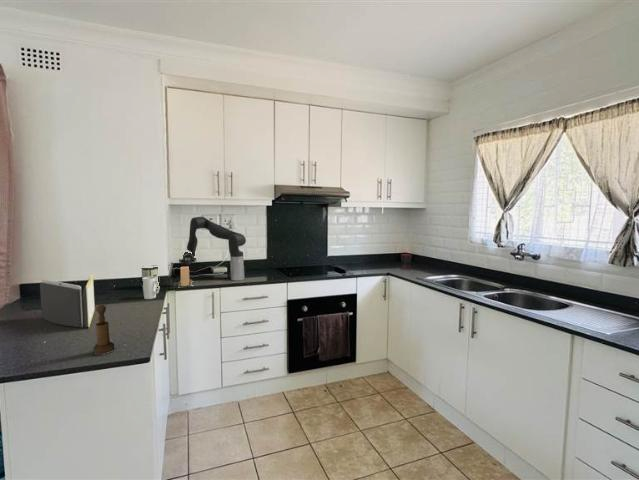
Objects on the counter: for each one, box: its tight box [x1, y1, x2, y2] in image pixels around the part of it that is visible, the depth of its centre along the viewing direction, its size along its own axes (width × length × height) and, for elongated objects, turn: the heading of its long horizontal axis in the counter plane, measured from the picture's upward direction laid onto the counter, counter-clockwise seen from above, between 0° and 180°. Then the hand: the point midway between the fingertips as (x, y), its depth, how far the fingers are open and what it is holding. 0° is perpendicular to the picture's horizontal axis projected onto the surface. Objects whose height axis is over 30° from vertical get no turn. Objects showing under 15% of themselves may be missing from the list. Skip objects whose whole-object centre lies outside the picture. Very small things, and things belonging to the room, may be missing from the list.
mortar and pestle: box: [92, 304, 115, 354], centre depth 127 cm, size 7×6×18 cm
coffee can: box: [140, 267, 158, 290], centre depth 220 cm, size 10×10×14 cm
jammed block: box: [179, 266, 190, 286], centre depth 226 cm, size 5×4×12 cm
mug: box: [142, 277, 161, 300], centre depth 198 cm, size 10×7×12 cm, turn 77°
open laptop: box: [39, 274, 96, 328], centre depth 164 cm, size 35×22×20 cm, turn 67°
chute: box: [178, 279, 195, 287], centre depth 229 cm, size 10×12×2 cm
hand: (187, 262), depth 243 cm, fingers closed
